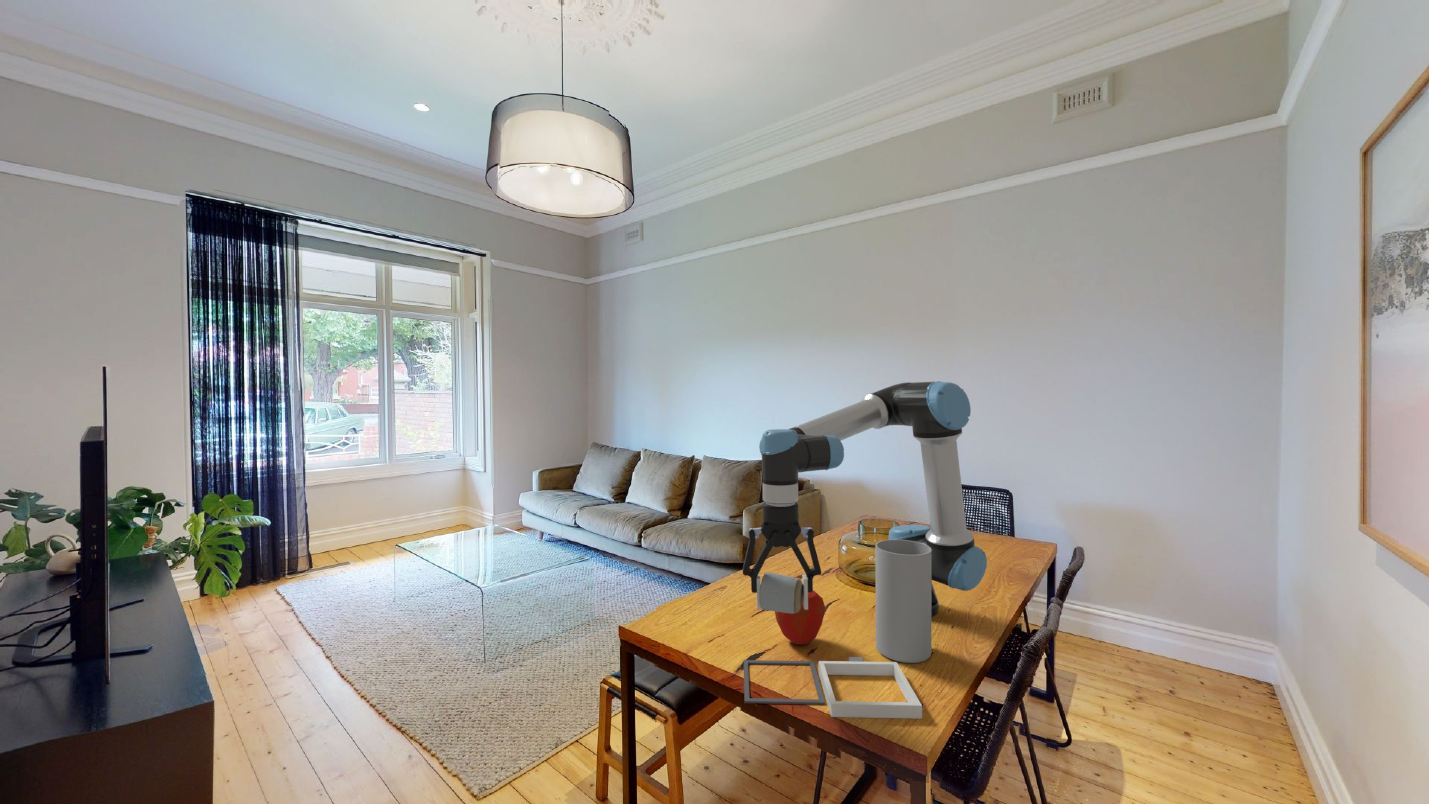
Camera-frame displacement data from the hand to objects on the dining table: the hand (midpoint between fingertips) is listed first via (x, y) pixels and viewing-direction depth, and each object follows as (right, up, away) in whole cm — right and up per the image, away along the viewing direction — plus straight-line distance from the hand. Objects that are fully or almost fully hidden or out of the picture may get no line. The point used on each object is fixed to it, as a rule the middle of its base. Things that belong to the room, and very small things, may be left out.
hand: (782, 606), depth 113 cm
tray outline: (0, -16, 0) cm, 16 cm away
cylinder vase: (+30, -16, +13) cm, 37 cm away
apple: (+7, -16, +18) cm, 25 cm away
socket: (+17, -16, -4) cm, 23 cm away
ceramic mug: (0, -1, +1) cm, 1 cm away
